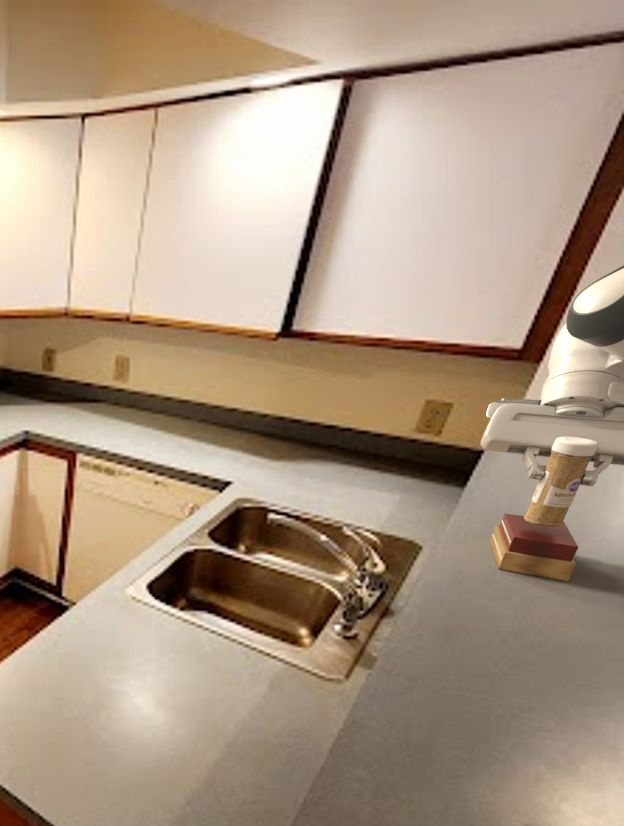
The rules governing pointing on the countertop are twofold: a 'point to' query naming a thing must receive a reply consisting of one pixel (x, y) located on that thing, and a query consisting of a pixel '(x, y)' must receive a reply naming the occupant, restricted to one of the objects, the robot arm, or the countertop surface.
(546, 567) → the red and wooden block
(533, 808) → the countertop surface
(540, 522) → the sprinkles bottle
